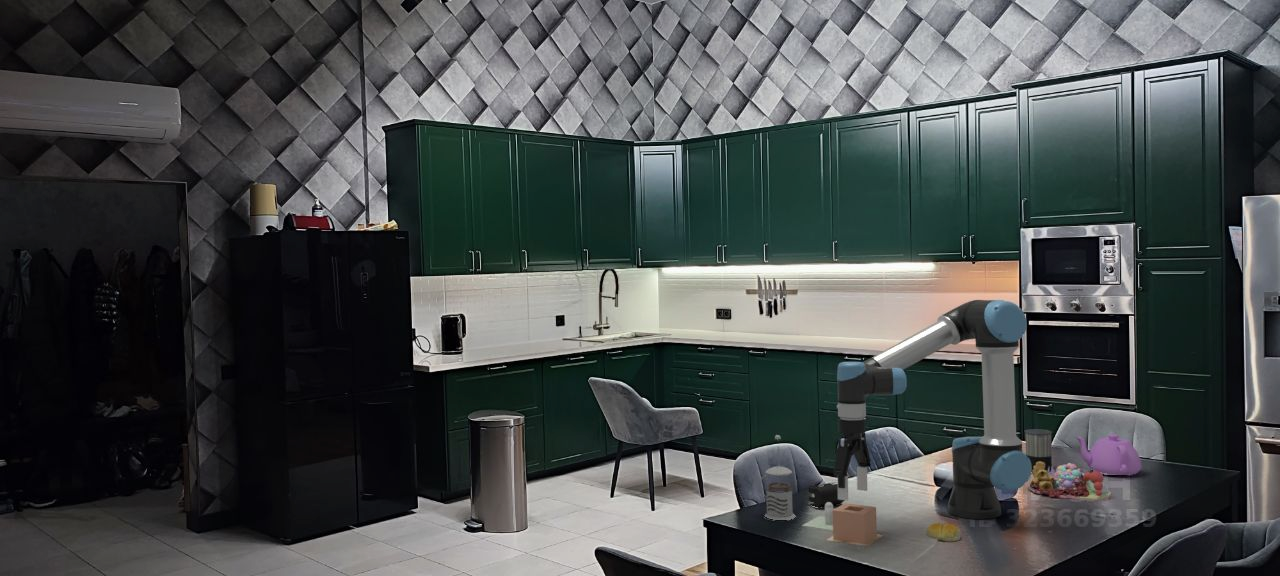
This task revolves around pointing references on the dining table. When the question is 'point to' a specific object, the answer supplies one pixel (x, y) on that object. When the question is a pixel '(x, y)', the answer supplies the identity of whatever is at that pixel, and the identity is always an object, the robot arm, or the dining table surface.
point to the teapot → (1111, 456)
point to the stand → (858, 543)
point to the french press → (778, 494)
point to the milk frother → (1039, 447)
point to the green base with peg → (823, 519)
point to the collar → (854, 523)
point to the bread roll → (944, 532)
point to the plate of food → (1068, 483)
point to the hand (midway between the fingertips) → (852, 494)
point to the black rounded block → (824, 495)
